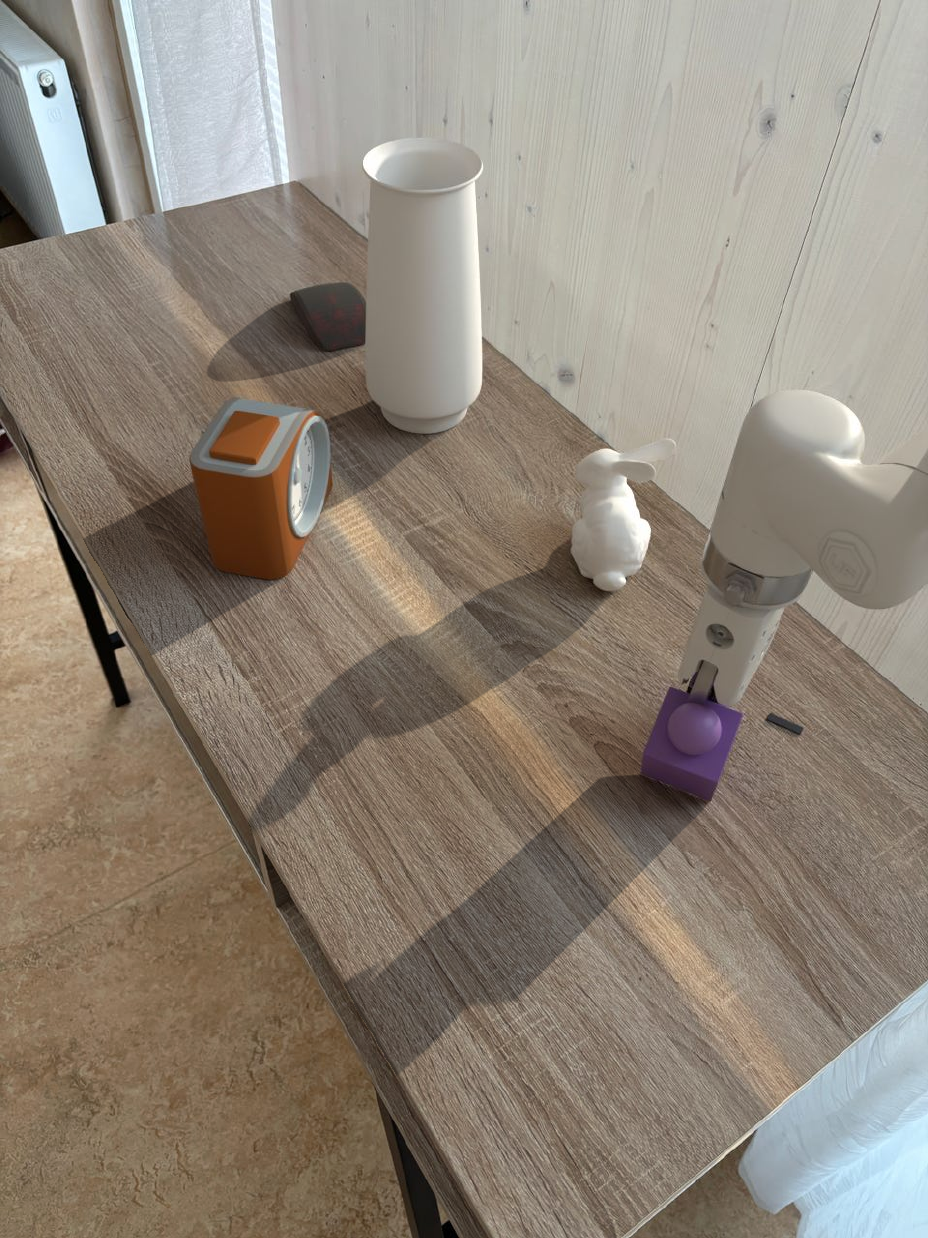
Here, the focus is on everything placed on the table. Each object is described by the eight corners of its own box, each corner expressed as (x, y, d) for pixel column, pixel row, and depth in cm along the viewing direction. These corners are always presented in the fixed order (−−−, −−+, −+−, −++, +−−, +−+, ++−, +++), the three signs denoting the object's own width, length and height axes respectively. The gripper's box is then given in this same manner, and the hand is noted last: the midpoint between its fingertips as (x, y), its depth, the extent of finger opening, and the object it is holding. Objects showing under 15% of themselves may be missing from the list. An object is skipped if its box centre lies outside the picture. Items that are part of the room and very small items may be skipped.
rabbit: (563, 516, 104) (575, 421, 95) (654, 518, 104) (674, 423, 95) (571, 602, 96) (585, 507, 87) (670, 604, 96) (694, 509, 87)
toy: (735, 736, 84) (749, 699, 75) (710, 802, 82) (722, 772, 73) (665, 710, 85) (671, 671, 77) (640, 774, 83) (643, 741, 75)
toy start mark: (803, 728, 87) (803, 727, 87) (800, 734, 86) (800, 734, 86) (770, 713, 88) (770, 712, 88) (767, 719, 87) (767, 719, 87)
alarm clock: (289, 584, 97) (272, 474, 87) (205, 569, 98) (179, 458, 88) (336, 486, 107) (326, 377, 97) (259, 473, 108) (241, 364, 98)
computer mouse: (315, 355, 123) (312, 325, 120) (283, 299, 131) (280, 270, 128) (378, 341, 125) (377, 312, 122) (343, 287, 133) (341, 259, 130)
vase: (344, 407, 116) (324, 160, 95) (424, 362, 122) (423, 122, 102) (423, 458, 110) (421, 208, 89) (504, 408, 116) (519, 164, 96)
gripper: (771, 648, 66) (708, 797, 79) (843, 517, 74) (775, 672, 88) (665, 600, 68) (622, 753, 82) (747, 478, 77) (695, 635, 90)
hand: (701, 710), depth 85 cm, fingers closed
